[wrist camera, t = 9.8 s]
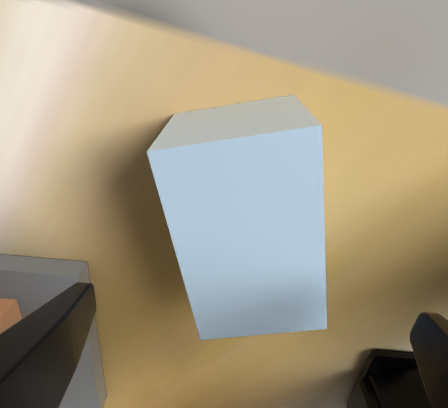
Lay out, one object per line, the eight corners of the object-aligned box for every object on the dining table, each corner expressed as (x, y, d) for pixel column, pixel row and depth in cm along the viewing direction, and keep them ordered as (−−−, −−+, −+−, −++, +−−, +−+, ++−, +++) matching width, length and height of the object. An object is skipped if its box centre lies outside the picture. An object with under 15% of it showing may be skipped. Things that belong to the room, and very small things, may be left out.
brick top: (293, 94, 13) (321, 125, 9) (303, 251, 17) (327, 329, 13) (174, 113, 14) (146, 152, 10) (209, 262, 18) (200, 340, 13)
